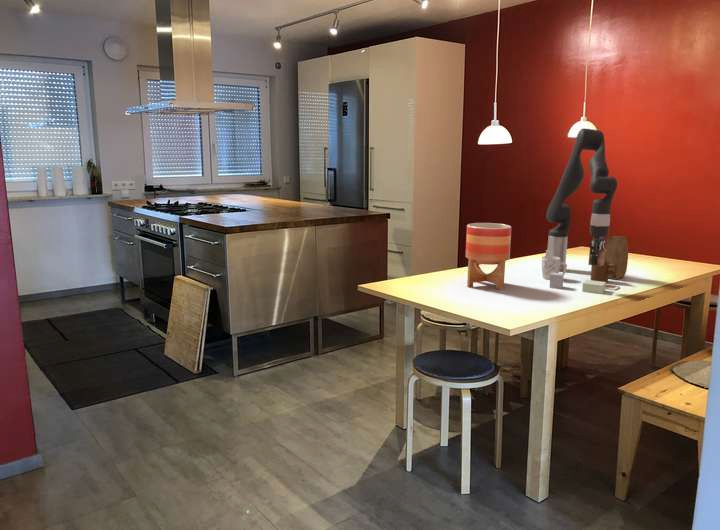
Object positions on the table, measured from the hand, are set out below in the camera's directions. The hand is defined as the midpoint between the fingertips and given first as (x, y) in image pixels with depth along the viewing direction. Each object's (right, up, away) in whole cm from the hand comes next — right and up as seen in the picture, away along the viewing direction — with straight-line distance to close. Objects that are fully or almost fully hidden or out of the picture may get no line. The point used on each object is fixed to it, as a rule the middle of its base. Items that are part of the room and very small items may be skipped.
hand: (596, 263), depth 247 cm
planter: (-45, -10, +11) cm, 47 cm away
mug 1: (-10, -7, +26) cm, 29 cm away
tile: (+9, -11, +9) cm, 17 cm away
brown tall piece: (+21, -7, +30) cm, 37 cm away
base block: (0, -12, +2) cm, 12 cm away
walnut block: (0, 0, 0) cm, 0 cm away
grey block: (-14, -10, +9) cm, 20 cm away
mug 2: (+12, -9, +21) cm, 25 cm away
